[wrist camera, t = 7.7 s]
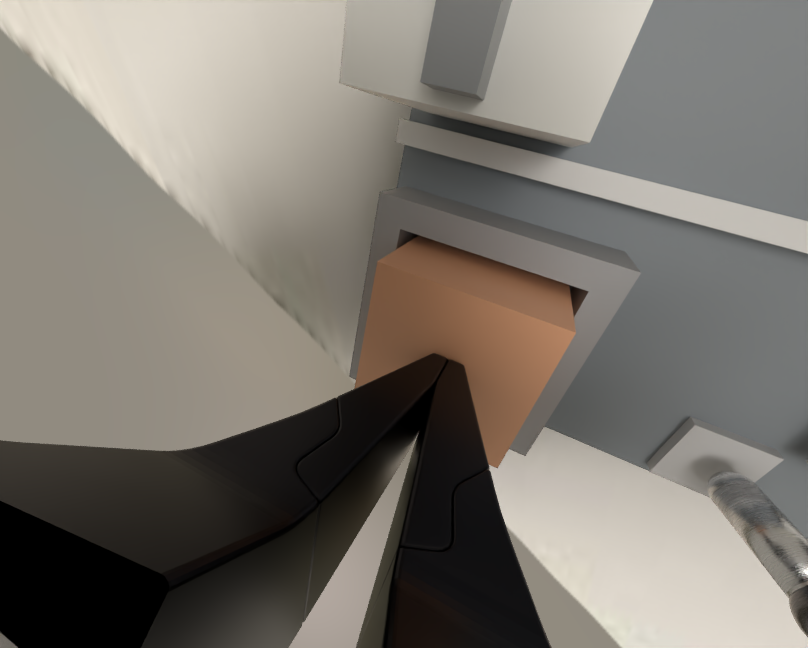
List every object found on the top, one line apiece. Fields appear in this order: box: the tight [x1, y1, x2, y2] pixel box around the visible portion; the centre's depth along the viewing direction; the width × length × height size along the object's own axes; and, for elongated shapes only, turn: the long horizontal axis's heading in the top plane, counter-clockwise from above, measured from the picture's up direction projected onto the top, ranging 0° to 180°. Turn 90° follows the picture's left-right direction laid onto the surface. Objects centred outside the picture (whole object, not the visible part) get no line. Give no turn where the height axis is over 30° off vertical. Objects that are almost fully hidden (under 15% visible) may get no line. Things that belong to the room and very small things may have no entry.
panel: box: [349, 0, 808, 539], centre depth 9 cm, size 20×14×4 cm
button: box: [354, 235, 576, 468], centre depth 10 cm, size 5×5×4 cm
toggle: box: [707, 471, 808, 637], centre depth 9 cm, size 2×2×4 cm
